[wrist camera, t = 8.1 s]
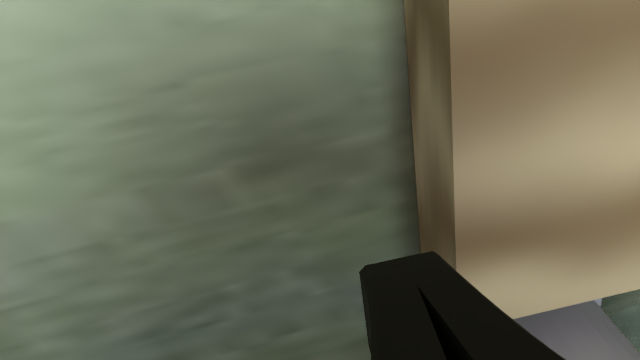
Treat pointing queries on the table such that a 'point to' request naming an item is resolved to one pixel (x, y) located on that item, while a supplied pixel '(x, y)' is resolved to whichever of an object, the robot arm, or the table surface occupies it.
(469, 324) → the robot arm
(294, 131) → the table surface
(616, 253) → the birch deck
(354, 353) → the table surface
